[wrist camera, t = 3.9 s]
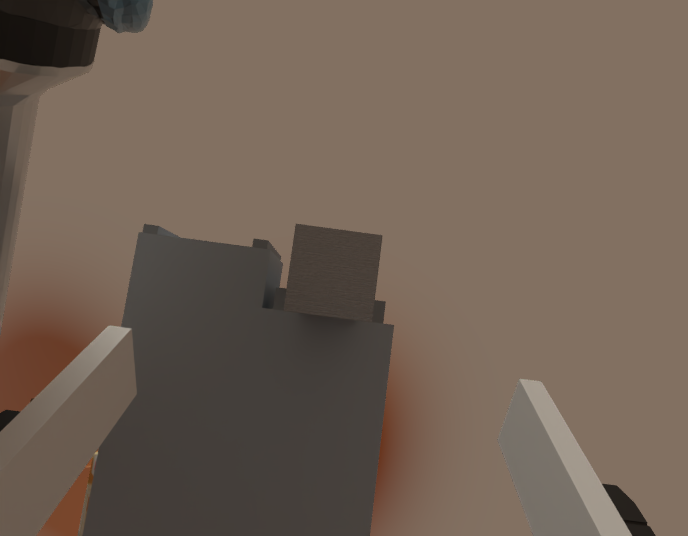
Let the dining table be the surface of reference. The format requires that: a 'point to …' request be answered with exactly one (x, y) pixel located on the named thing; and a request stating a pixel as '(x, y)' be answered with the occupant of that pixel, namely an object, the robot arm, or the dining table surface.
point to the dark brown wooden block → (333, 273)
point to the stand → (239, 403)
